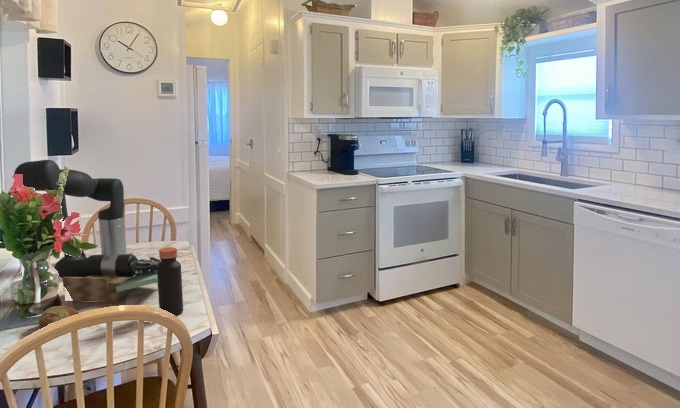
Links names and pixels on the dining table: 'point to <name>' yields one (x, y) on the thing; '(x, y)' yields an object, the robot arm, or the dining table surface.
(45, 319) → the bread roll
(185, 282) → the dining table surface
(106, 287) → the wood grain box
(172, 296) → the bottle
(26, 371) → the dining table surface
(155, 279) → the green box lid
